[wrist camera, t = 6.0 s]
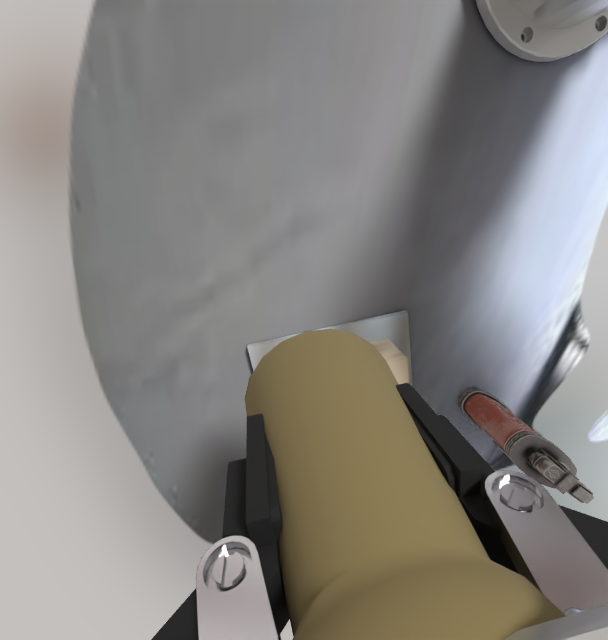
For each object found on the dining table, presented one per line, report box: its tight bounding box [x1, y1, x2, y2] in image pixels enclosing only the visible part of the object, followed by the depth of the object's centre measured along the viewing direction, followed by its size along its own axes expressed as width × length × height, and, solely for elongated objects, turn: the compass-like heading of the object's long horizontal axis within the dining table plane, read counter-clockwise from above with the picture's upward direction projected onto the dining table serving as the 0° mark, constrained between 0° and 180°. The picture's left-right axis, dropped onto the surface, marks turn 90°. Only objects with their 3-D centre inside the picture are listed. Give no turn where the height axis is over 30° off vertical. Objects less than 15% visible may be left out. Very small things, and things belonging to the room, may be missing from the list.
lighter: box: [457, 387, 594, 503], centre depth 30 cm, size 8×3×10 cm, turn 52°
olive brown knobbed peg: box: [245, 329, 566, 640], centre depth 8 cm, size 6×6×11 cm
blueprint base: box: [247, 310, 413, 387], centre depth 29 cm, size 14×14×5 cm
